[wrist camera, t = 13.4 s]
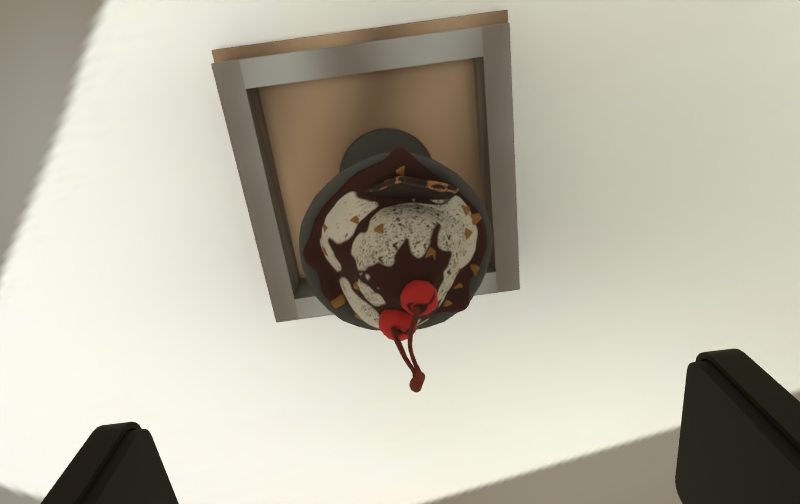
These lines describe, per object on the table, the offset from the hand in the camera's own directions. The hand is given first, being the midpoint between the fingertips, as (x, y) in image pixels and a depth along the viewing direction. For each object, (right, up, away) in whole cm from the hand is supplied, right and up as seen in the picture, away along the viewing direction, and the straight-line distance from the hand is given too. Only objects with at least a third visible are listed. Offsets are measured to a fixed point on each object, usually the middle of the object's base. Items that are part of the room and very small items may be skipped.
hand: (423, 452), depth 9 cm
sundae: (-1, +8, +18) cm, 20 cm away
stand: (-2, +8, +19) cm, 21 cm away
